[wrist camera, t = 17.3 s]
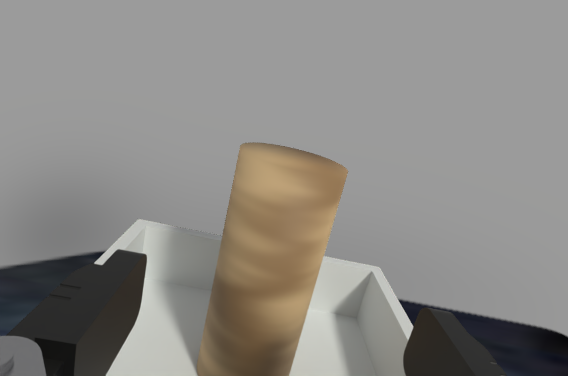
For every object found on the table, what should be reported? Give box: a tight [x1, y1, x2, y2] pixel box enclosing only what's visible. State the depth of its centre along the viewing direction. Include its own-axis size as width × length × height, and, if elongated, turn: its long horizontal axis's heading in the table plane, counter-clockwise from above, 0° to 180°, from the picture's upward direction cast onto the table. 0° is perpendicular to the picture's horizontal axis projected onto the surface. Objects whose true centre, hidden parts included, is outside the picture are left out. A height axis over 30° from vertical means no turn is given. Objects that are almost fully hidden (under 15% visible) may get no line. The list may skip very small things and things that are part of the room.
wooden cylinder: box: [197, 143, 348, 376], centre depth 18 cm, size 5×5×12 cm
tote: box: [94, 219, 413, 376], centre depth 19 cm, size 18×15×5 cm
